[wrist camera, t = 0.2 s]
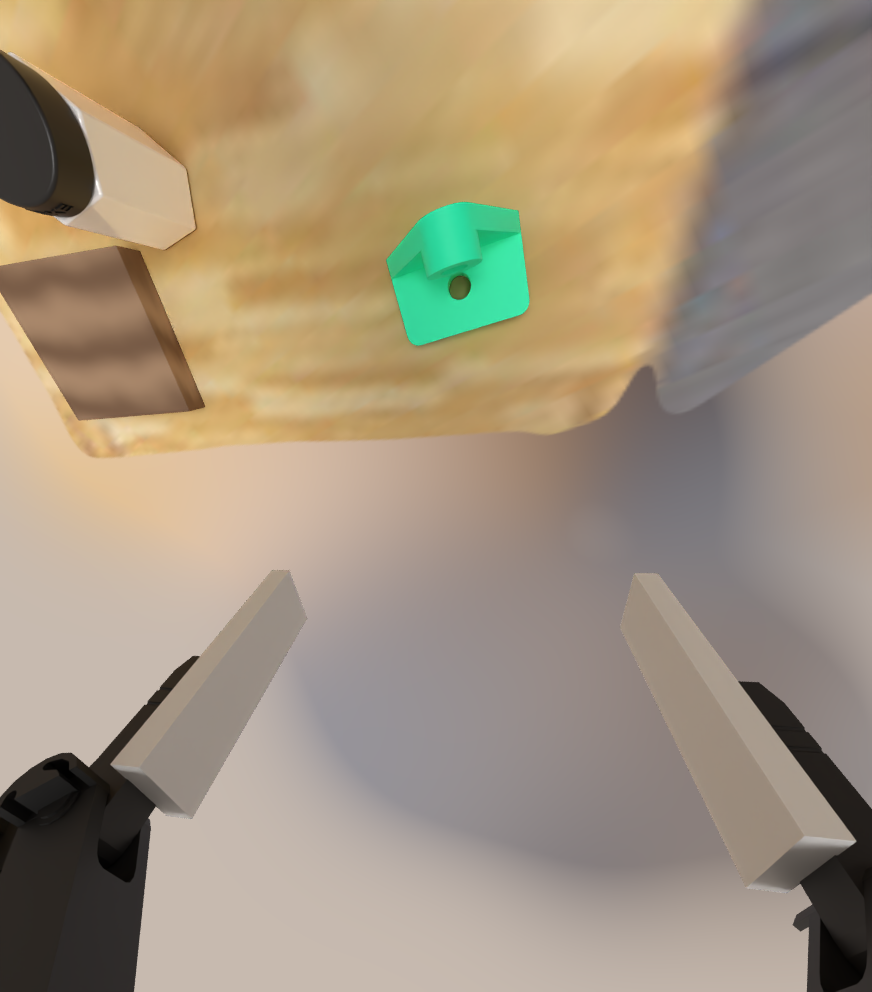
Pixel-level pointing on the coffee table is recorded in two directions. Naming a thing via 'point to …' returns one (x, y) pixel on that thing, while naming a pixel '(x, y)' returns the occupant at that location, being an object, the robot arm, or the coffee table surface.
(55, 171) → the jar
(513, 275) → the camera mount
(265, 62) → the coffee table surface
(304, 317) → the coffee table surface
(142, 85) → the coffee table surface
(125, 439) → the coffee table surface
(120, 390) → the plinth
